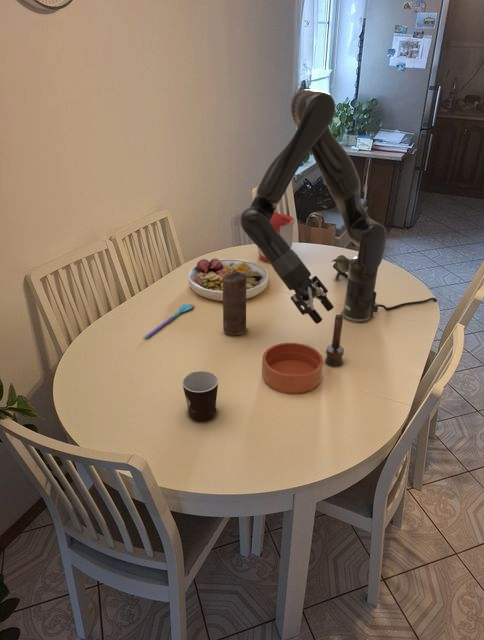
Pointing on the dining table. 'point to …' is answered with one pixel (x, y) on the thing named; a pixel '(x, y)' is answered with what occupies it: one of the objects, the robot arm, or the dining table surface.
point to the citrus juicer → (281, 229)
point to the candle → (234, 303)
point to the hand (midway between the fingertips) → (325, 315)
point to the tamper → (335, 344)
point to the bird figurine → (341, 266)
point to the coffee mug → (201, 394)
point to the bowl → (210, 275)
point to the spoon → (181, 309)
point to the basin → (292, 367)
